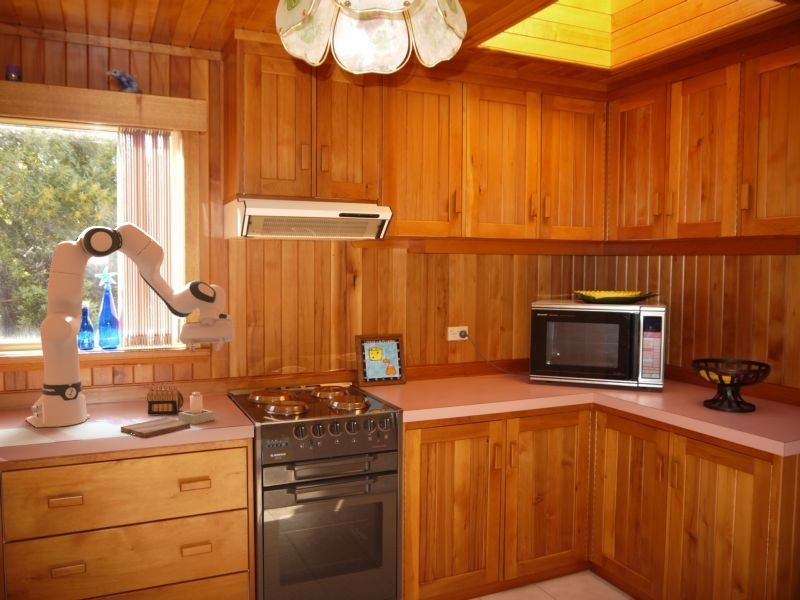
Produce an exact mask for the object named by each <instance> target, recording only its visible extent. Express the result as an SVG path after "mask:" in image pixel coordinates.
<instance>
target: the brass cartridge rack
mask: <svg viewBox="0 0 800 600" xmlns="http://www.w3.org/2000/svg"><path fill="white" fill-rule="evenodd" d="M152 390H153V393H154V388H152ZM157 391H158V393H159V387H157ZM162 392H164V387H162ZM167 392H168V387H167ZM172 393H173V388H172ZM148 394H149V392H148V393H147V397H146V400H147V402H148V401H149V400H148ZM177 400H178V411H179V410H180V409H181V408H182V407H183V405H184V400H185V399H184V396H183V394H182V393H181V391H180V390H178V389H177ZM153 410H154V404H153ZM158 410H159V408H158Z"/></svg>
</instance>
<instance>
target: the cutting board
mask: <svg viewBox="0 0 800 600" xmlns="http://www.w3.org/2000/svg"><path fill="white" fill-rule="evenodd" d="M185 428H186V429H189V428H191V424H190V423H188V422H183V421H179V419H174V418H171V417H167V416H166V417H163V418H157V419H153V420H147V421H143V422H138V423H134V424H133V423H132V424H128V425H123V426H120V432H122V431H124V432H123V433H125V432H127V433H126V434H129V433H132V434H135V435H134V436H136V435H137V436H136V437H139V438H143V439H146V438H150V437H154V436H159V435H164V434H167V433H171V432H172V433H173V432H176V430H177V431H181V430H185ZM132 434H131V435H132Z"/></svg>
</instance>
